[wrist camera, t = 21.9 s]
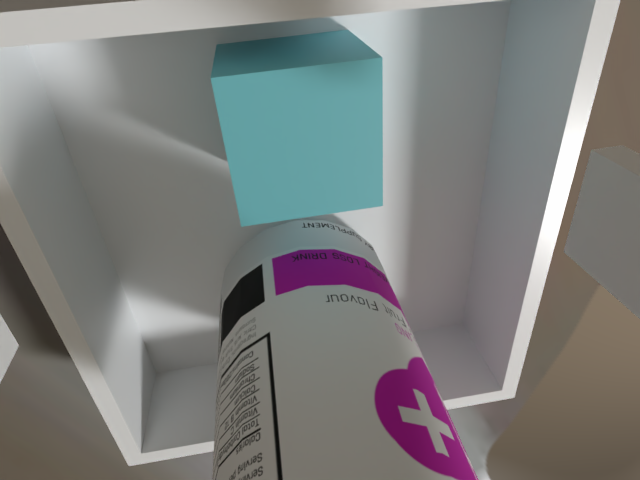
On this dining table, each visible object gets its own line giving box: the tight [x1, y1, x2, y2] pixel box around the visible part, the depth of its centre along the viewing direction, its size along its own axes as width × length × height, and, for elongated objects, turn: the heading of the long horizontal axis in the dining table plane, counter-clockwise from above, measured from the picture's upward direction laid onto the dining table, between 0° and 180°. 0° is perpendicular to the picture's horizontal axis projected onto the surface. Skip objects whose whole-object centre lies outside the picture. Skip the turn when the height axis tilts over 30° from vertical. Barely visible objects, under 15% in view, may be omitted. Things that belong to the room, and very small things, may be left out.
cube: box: [211, 30, 383, 227], centre depth 17 cm, size 5×5×5 cm
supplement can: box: [213, 220, 478, 480], centre depth 18 cm, size 8×8×15 cm
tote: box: [0, 0, 620, 466], centre depth 20 cm, size 20×20×6 cm
